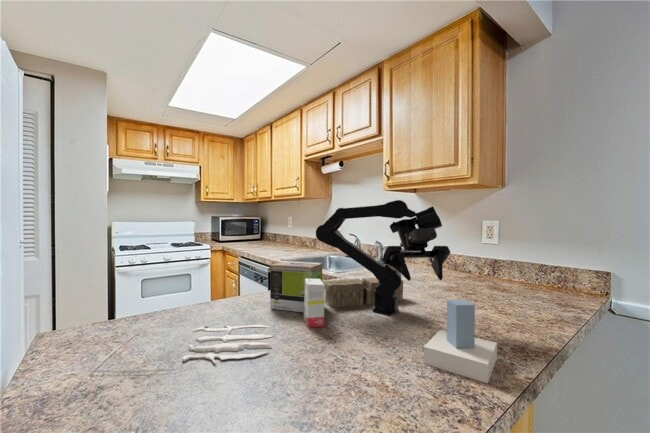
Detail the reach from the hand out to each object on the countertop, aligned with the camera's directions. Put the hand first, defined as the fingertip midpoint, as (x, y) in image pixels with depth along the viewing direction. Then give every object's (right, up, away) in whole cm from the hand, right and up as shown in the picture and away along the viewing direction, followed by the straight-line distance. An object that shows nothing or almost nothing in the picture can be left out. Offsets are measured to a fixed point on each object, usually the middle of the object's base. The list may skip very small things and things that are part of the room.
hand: (425, 279), depth 82 cm
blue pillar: (+2, -10, -17) cm, 20 cm away
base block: (+2, -14, -18) cm, 23 cm away
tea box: (-37, -13, +18) cm, 43 cm away
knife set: (-57, -13, -11) cm, 60 cm away
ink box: (-31, -13, +4) cm, 34 cm away
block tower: (-14, -14, +26) cm, 32 cm away
